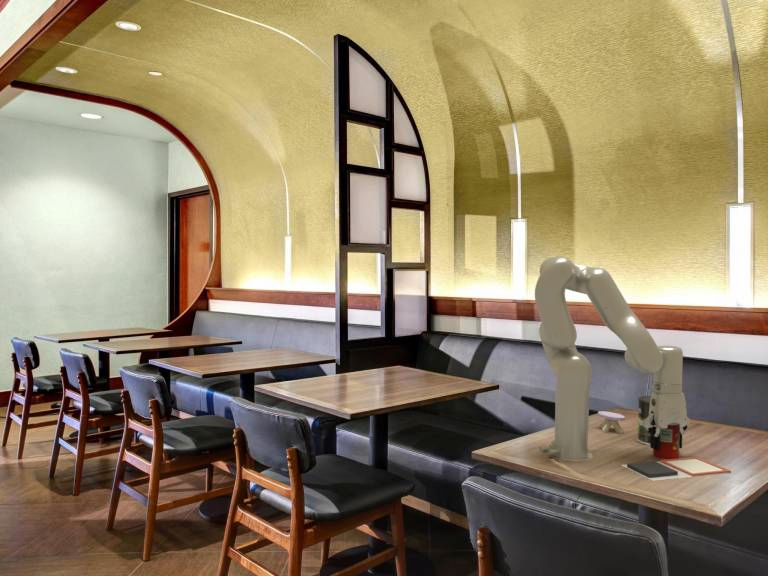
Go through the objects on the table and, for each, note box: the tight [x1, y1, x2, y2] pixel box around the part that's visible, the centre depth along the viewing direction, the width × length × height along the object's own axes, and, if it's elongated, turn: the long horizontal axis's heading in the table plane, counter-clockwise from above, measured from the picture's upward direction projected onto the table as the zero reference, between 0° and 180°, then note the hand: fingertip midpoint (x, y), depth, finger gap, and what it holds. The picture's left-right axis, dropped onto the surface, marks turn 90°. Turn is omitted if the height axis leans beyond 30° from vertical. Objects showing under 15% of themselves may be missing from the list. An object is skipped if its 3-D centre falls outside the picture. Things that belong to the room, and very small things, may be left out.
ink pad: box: [626, 460, 678, 479], centre depth 169 cm, size 9×9×1 cm
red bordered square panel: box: [659, 456, 732, 477], centre depth 173 cm, size 13×13×1 cm
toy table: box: [597, 410, 626, 434], centre depth 215 cm, size 10×9×6 cm
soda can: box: [652, 423, 680, 460], centre depth 182 cm, size 7×7×12 cm
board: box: [621, 461, 727, 482], centre depth 171 cm, size 24×13×1 cm, turn 106°
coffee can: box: [636, 395, 652, 446], centre depth 201 cm, size 10×10×14 cm
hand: (666, 447), depth 182 cm, fingers closed on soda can, 7 cm apart
